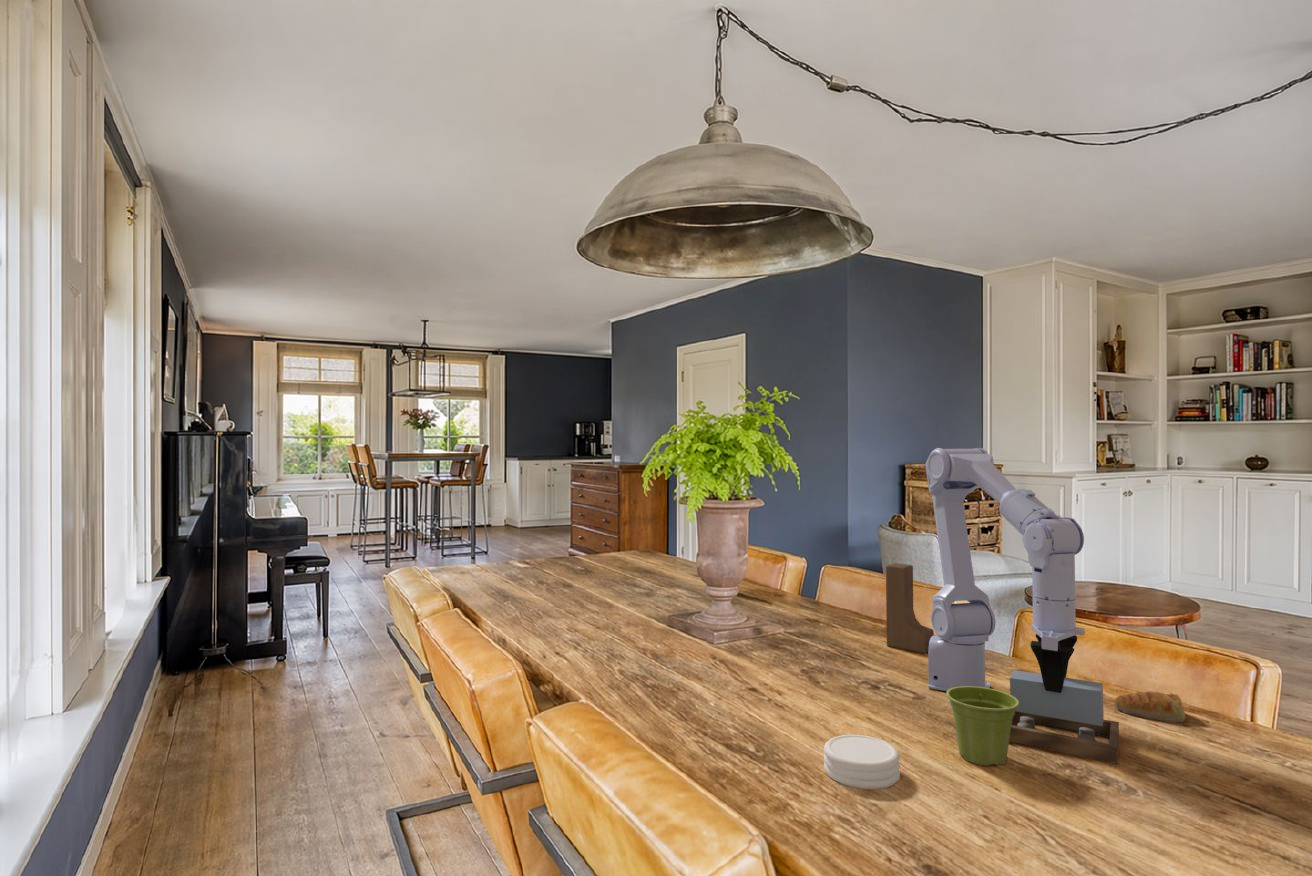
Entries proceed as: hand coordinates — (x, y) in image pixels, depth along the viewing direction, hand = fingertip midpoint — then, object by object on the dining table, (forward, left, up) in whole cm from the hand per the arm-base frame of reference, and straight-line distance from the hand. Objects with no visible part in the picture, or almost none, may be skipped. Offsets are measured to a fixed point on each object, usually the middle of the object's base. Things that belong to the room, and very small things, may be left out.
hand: (1055, 686), depth 107 cm
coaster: (-21, -27, -8) cm, 36 cm away
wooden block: (-31, +37, -8) cm, 49 cm away
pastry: (+12, +20, -8) cm, 25 cm away
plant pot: (-8, -13, -8) cm, 18 cm away
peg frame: (0, 0, -8) cm, 8 cm away
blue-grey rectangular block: (0, 0, -4) cm, 4 cm away
